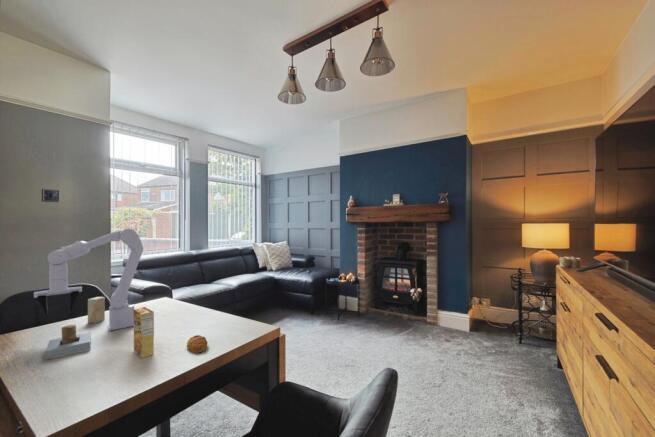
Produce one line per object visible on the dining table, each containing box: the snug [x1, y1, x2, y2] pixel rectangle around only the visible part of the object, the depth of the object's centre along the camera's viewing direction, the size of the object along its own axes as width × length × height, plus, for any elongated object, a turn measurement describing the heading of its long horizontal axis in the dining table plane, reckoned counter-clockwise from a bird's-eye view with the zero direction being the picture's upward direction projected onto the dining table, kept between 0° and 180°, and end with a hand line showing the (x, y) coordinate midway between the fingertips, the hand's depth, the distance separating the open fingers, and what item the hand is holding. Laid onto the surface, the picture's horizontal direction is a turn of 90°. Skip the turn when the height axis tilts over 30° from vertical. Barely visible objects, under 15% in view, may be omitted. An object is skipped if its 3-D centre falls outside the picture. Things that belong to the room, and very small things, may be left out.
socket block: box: [44, 332, 92, 361], centre depth 109 cm, size 12×12×3 cm
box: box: [87, 296, 106, 324], centre depth 139 cm, size 5×4×11 cm
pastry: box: [186, 334, 208, 354], centre depth 108 cm, size 9×7×4 cm
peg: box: [61, 324, 77, 345], centre depth 109 cm, size 4×4×8 cm
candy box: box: [133, 306, 155, 359], centre depth 105 cm, size 9×4×15 cm, turn 50°
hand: (59, 311), depth 120 cm, fingers open, 7 cm apart
